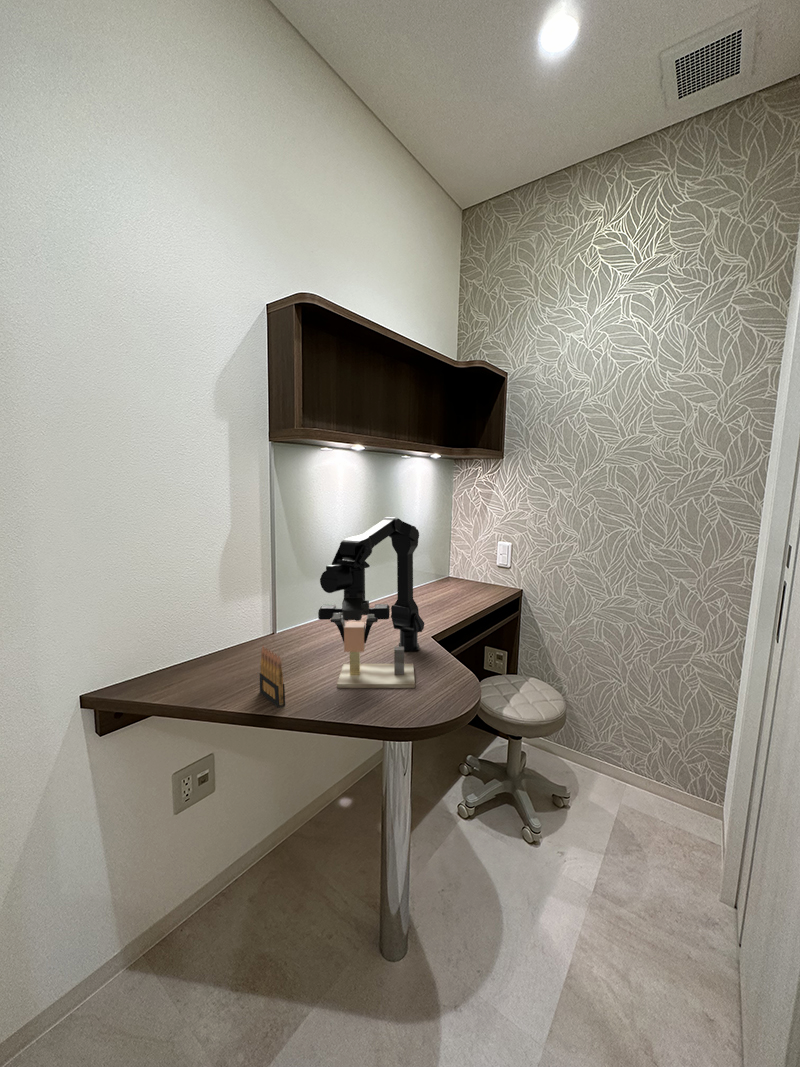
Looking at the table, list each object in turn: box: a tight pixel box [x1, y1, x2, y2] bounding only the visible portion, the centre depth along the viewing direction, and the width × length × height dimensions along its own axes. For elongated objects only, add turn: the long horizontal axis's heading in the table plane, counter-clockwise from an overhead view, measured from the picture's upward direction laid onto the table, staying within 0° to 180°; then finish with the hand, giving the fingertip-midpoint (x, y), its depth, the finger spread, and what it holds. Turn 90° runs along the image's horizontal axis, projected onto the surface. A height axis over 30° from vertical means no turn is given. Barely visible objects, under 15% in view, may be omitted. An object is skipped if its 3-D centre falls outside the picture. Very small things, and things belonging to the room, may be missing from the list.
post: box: [349, 652, 361, 675], centre depth 124 cm, size 3×3×7 cm
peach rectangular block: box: [343, 621, 366, 653], centre depth 123 cm, size 5×5×7 cm
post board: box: [336, 646, 416, 689], centre depth 124 cm, size 14×20×8 cm
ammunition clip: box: [259, 645, 286, 708], centre depth 111 cm, size 11×2×12 cm, turn 40°
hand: (355, 642), depth 123 cm, fingers closed on peach rectangular block, 5 cm apart
